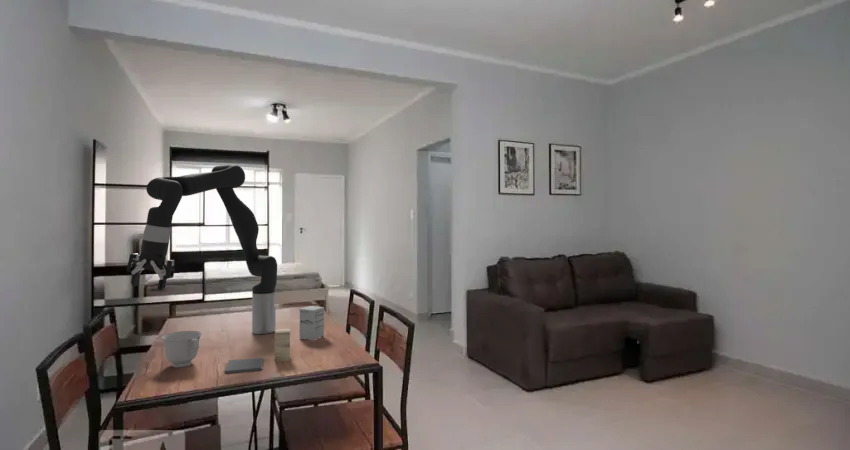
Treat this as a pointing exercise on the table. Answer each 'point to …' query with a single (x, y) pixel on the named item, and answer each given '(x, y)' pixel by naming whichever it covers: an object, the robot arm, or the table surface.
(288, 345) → the beech block
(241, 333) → the table surface
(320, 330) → the supplement box
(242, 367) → the slate coaster
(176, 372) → the table surface
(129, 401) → the table surface
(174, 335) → the teacup
